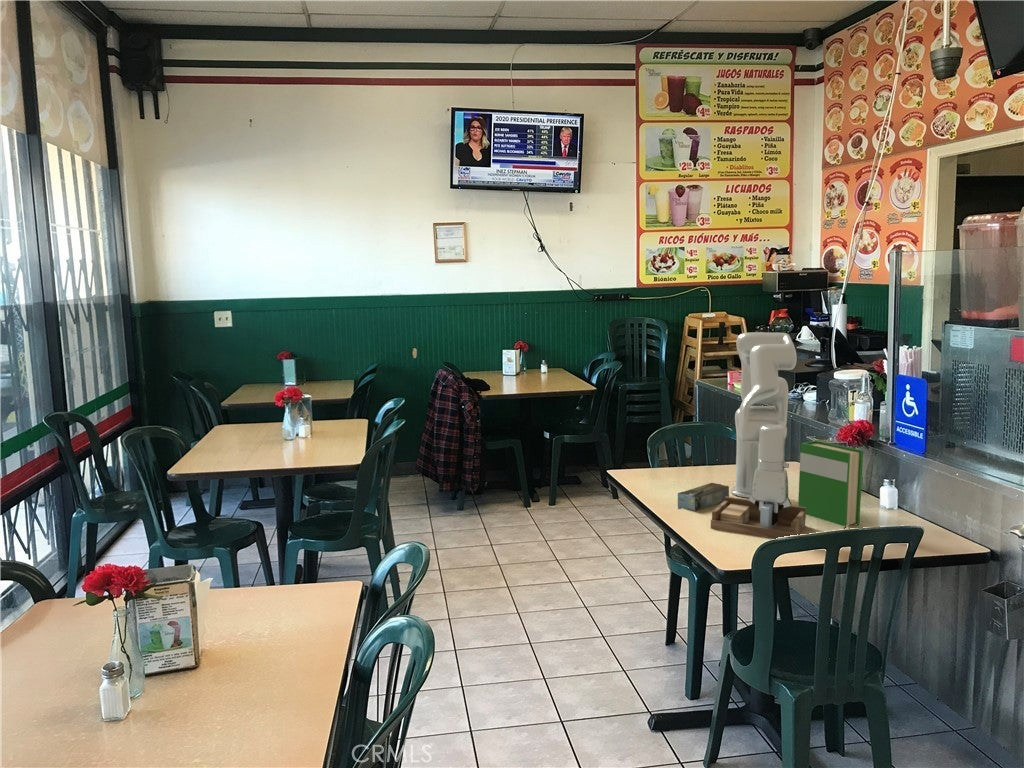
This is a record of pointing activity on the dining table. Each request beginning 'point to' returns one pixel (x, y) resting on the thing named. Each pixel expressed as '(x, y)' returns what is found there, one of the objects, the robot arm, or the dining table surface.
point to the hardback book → (831, 482)
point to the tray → (788, 520)
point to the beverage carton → (703, 496)
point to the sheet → (767, 515)
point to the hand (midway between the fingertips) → (768, 522)
